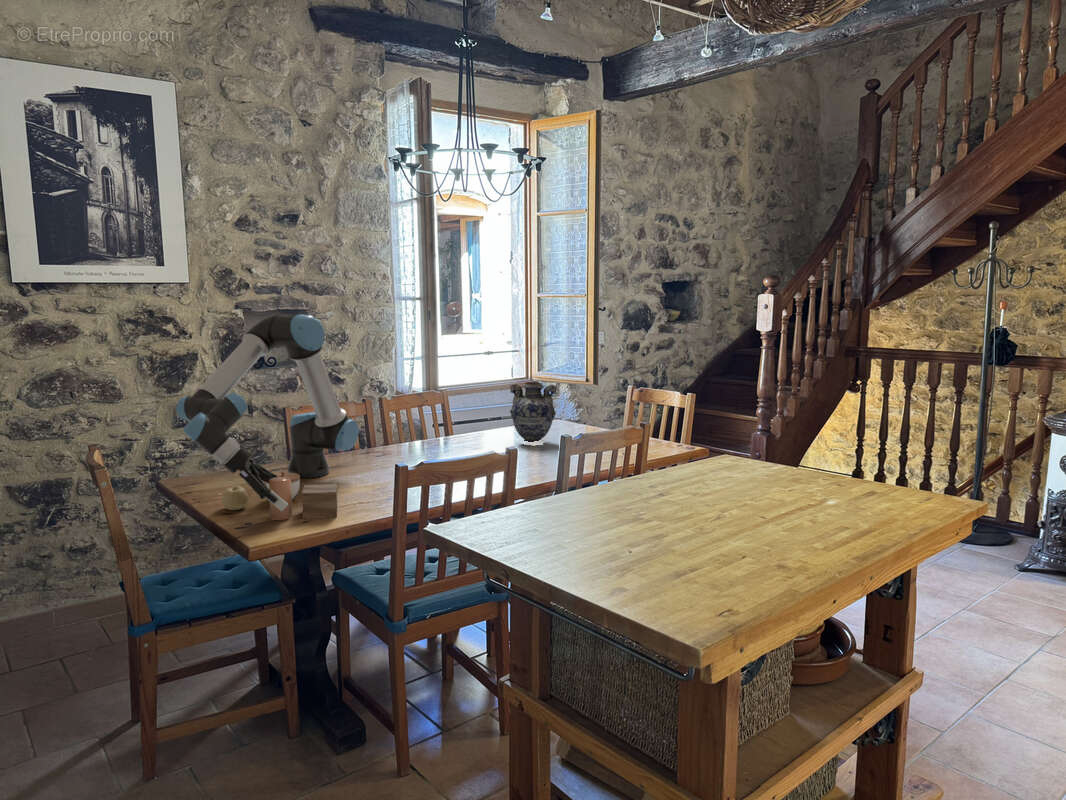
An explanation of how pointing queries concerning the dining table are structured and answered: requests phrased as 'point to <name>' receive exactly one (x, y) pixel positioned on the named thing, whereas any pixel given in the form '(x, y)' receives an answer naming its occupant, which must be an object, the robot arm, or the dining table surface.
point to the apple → (235, 498)
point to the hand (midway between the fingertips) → (287, 501)
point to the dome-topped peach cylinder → (283, 490)
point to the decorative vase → (532, 410)
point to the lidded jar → (294, 481)
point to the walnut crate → (319, 501)
